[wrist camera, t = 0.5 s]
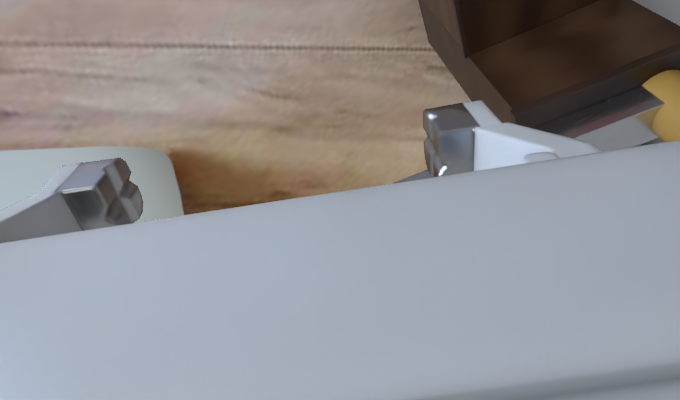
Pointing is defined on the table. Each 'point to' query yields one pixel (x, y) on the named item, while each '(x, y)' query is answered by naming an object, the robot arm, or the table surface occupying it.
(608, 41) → the step stand
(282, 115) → the table surface
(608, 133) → the crank handle
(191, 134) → the table surface
